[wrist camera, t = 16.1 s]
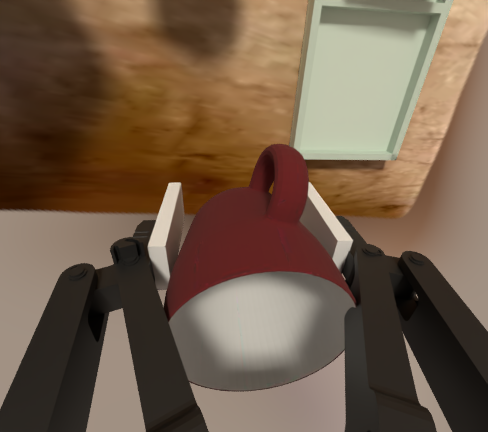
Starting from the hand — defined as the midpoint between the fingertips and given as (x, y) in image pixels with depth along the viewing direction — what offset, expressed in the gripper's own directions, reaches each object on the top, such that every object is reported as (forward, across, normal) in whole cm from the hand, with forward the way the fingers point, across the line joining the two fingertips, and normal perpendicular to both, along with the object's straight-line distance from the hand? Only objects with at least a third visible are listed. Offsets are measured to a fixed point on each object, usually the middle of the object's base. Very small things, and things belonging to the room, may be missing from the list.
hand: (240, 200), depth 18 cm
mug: (+1, 0, 0) cm, 1 cm away
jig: (+17, +15, +10) cm, 25 cm away
